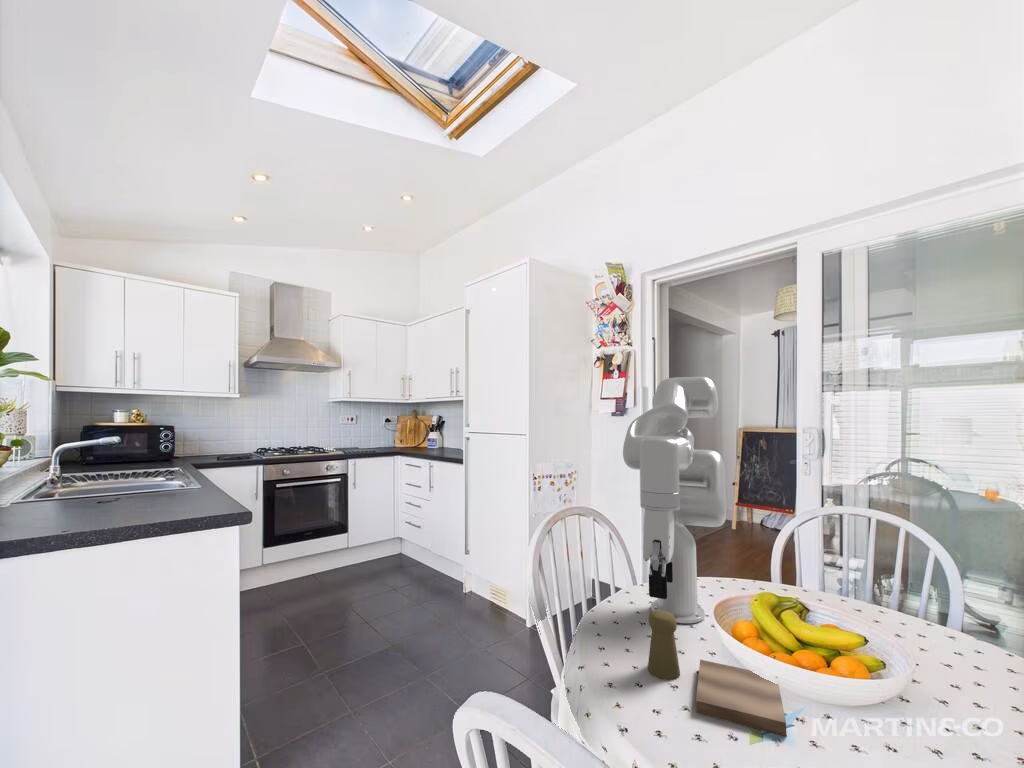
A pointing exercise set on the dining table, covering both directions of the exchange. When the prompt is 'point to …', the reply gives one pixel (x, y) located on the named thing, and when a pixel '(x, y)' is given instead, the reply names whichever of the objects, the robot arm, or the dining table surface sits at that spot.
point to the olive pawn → (663, 646)
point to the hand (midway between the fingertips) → (661, 588)
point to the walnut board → (739, 697)
